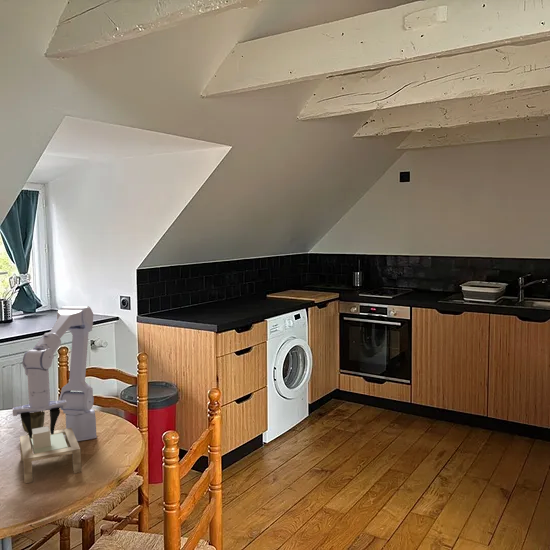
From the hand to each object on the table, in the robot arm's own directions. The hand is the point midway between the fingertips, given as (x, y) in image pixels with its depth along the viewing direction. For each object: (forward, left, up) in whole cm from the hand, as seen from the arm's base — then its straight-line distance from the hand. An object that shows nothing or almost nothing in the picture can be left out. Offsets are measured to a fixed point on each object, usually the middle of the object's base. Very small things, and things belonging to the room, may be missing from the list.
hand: (41, 434), depth 167 cm
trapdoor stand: (-2, 0, -10) cm, 10 cm away
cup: (+1, -26, -10) cm, 28 cm away
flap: (-2, 0, -6) cm, 6 cm away
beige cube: (0, 0, -3) cm, 3 cm away
